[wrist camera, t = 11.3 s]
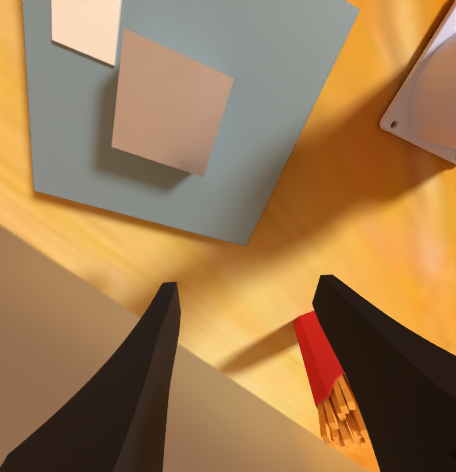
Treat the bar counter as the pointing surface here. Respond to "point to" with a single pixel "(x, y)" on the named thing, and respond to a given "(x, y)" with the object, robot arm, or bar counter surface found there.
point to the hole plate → (203, 51)
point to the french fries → (329, 387)
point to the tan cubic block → (167, 105)
